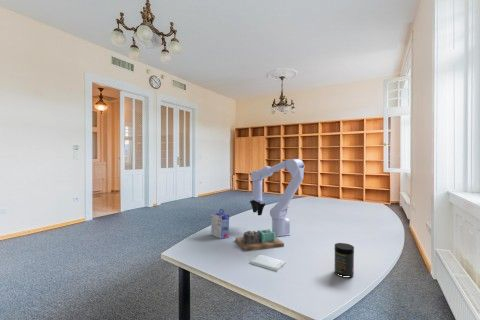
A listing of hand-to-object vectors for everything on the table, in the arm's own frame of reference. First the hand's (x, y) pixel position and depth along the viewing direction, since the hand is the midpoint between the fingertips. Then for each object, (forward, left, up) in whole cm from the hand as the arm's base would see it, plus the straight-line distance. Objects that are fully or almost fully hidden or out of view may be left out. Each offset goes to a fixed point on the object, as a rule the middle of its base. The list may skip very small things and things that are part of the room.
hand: (257, 213), depth 145 cm
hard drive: (+13, +44, -10) cm, 47 cm away
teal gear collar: (+4, +22, -8) cm, 24 cm away
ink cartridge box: (+24, +5, -10) cm, 26 cm away
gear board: (+8, +22, -9) cm, 25 cm away
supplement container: (-10, +61, -10) cm, 63 cm away
